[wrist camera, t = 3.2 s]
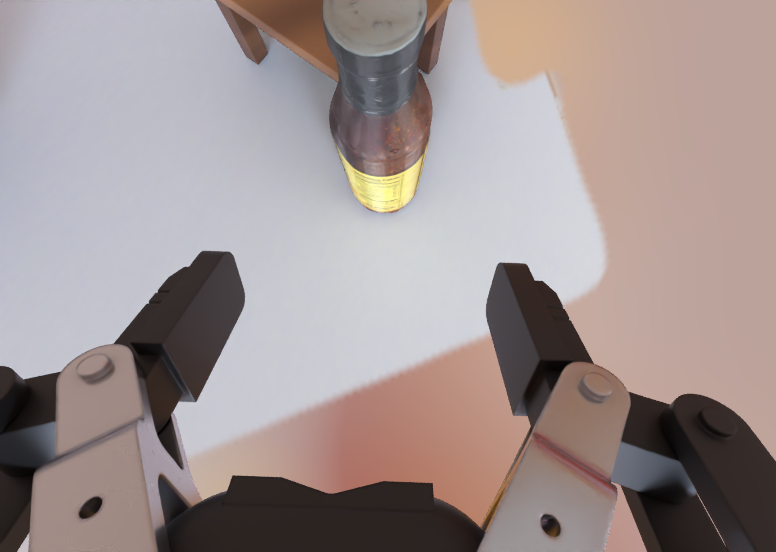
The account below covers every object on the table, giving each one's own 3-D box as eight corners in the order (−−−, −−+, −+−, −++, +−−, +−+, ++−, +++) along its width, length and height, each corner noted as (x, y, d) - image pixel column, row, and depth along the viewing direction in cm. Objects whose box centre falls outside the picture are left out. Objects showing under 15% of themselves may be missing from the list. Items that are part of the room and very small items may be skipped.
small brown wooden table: (242, 56, 34) (198, -22, 26) (311, -25, 35) (288, -125, 27) (373, 148, 33) (369, 95, 25) (440, 62, 34) (456, -15, 26)
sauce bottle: (372, 142, 33) (351, -112, 13) (429, 173, 33) (494, -40, 13) (337, 199, 32) (261, 23, 13) (395, 232, 32) (408, 102, 12)
